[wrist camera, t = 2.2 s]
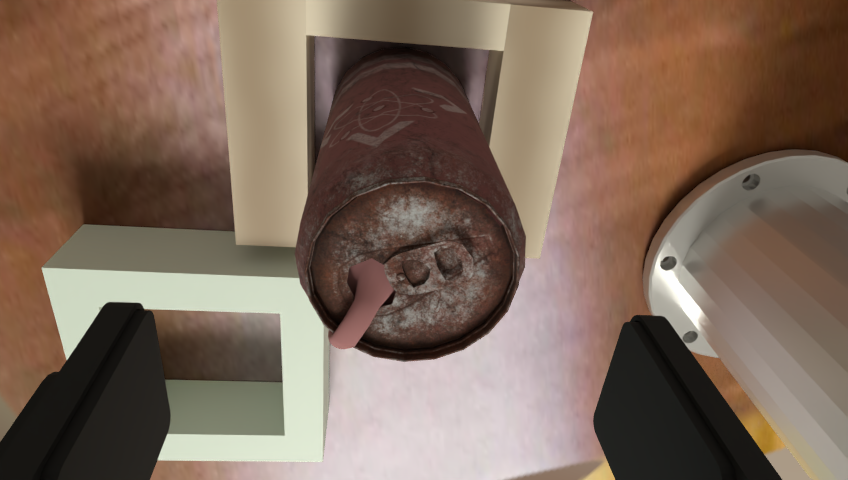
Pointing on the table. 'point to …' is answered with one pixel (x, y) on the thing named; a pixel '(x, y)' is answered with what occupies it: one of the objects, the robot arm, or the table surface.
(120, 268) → the pale green square frame
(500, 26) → the socket block
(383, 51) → the can
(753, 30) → the table surface
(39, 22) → the table surface
